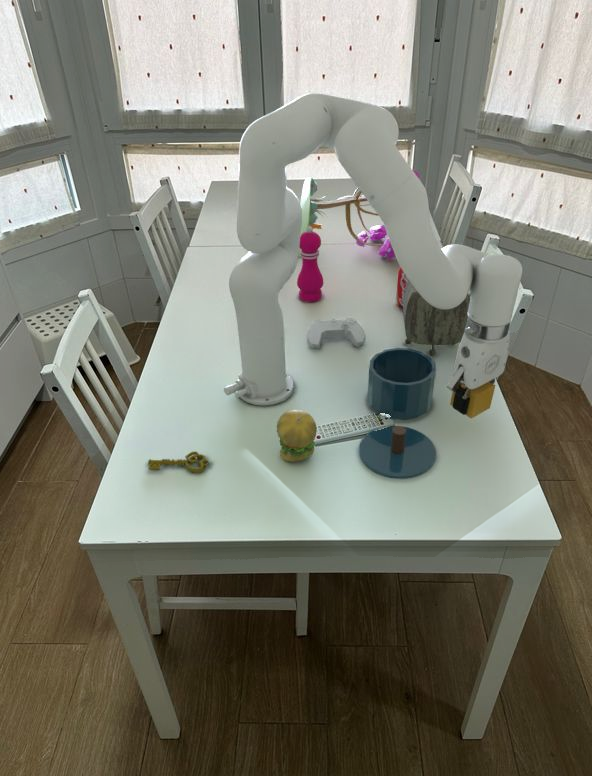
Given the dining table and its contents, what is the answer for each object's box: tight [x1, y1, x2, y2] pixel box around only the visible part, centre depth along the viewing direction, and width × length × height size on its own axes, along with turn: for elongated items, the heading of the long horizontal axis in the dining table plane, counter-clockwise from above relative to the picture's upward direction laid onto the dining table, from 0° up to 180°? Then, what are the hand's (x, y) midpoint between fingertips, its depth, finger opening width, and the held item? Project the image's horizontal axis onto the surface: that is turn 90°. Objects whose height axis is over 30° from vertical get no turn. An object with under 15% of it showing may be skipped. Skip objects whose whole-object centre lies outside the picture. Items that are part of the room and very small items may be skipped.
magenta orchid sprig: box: [298, 169, 421, 259], centre depth 191 cm, size 30×28×35 cm
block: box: [449, 382, 496, 419], centre depth 122 cm, size 6×6×6 cm
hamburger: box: [276, 409, 318, 463], centre depth 119 cm, size 8×7×12 cm
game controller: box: [306, 317, 367, 349], centre depth 155 cm, size 14×4×10 cm
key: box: [148, 451, 210, 474], centre depth 122 cm, size 12×1×5 cm
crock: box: [366, 347, 437, 421], centre depth 133 cm, size 14×14×10 cm
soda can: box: [395, 266, 409, 311], centre depth 164 cm, size 7×7×12 cm
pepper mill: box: [296, 226, 324, 303], centre depth 167 cm, size 7×7×20 cm
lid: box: [358, 425, 437, 480], centre depth 121 cm, size 15×15×6 cm
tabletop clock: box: [402, 281, 471, 357], centre depth 143 cm, size 14×9×25 cm, turn 86°
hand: (470, 404), depth 124 cm, fingers closed on block, 5 cm apart
